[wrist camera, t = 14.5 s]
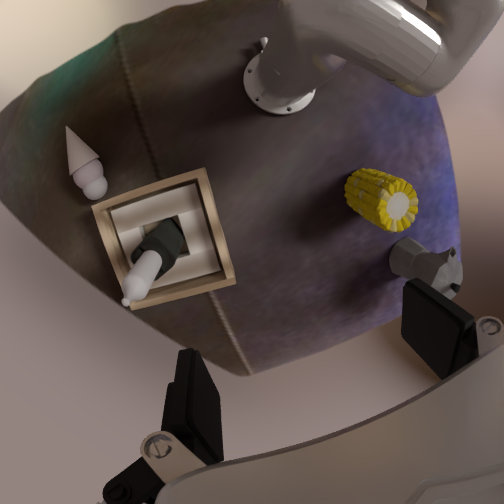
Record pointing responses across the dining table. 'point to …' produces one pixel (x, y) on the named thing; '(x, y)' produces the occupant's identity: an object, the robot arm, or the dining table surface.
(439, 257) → the coffeepot
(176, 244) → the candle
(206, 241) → the box
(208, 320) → the dining table surface
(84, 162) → the ice cream cone
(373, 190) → the food
